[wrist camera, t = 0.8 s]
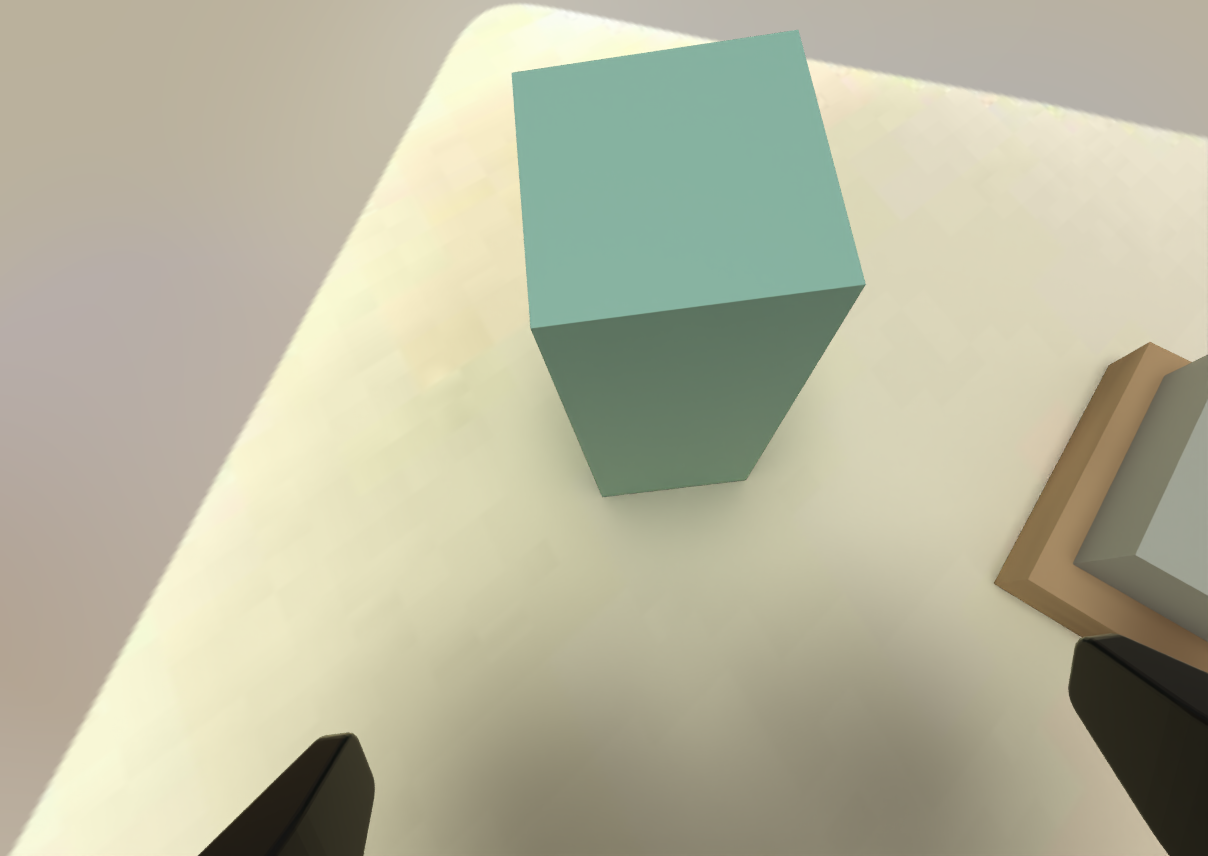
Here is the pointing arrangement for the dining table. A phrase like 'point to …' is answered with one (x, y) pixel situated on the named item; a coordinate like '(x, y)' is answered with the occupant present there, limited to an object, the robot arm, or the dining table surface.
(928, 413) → the dining table surface
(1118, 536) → the tower middle block
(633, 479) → the tall teal block
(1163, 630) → the tower base block
